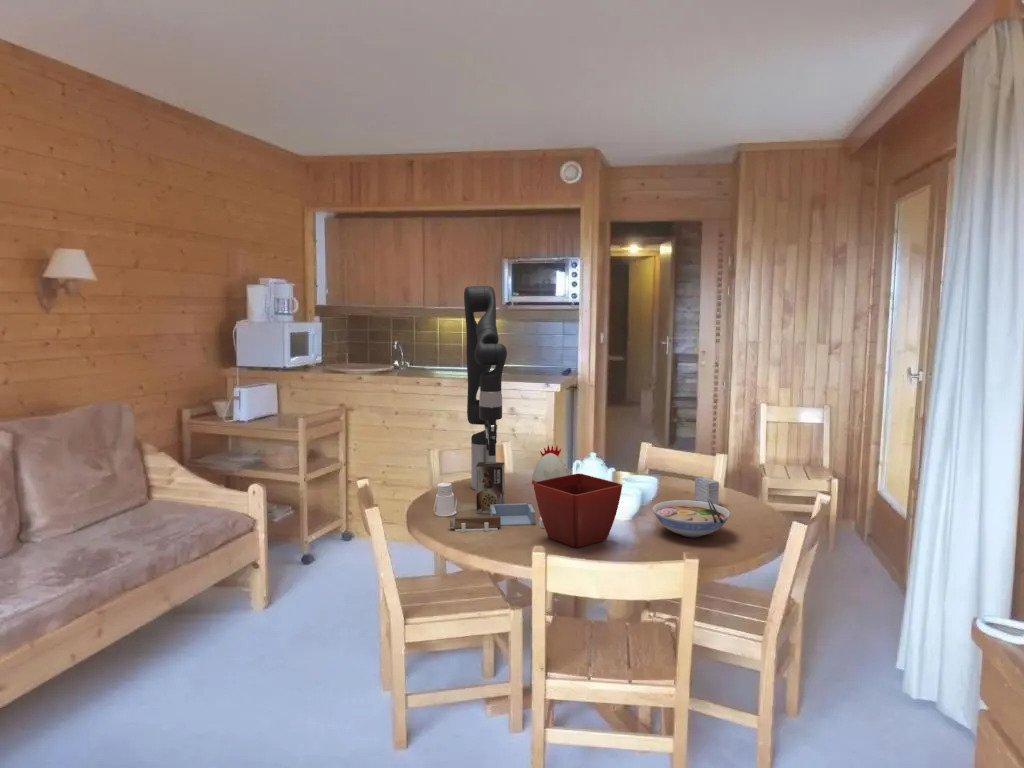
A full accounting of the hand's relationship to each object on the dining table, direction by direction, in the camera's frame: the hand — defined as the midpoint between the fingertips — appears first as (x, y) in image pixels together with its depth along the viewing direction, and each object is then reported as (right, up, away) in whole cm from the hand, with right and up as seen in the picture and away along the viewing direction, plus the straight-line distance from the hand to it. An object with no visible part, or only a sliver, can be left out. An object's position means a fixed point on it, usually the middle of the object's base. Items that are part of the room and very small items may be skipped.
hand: (490, 452), depth 243 cm
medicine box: (+74, -19, +11) cm, 78 cm away
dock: (+7, -21, -8) cm, 23 cm away
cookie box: (0, -20, +2) cm, 20 cm away
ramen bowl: (+61, -23, -21) cm, 68 cm away
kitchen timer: (+22, -16, +41) cm, 49 cm away
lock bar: (-4, -22, -16) cm, 27 cm away
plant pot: (+26, -23, -26) cm, 44 cm away
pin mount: (+3, -22, -16) cm, 27 cm away
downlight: (-15, -20, 0) cm, 25 cm away
